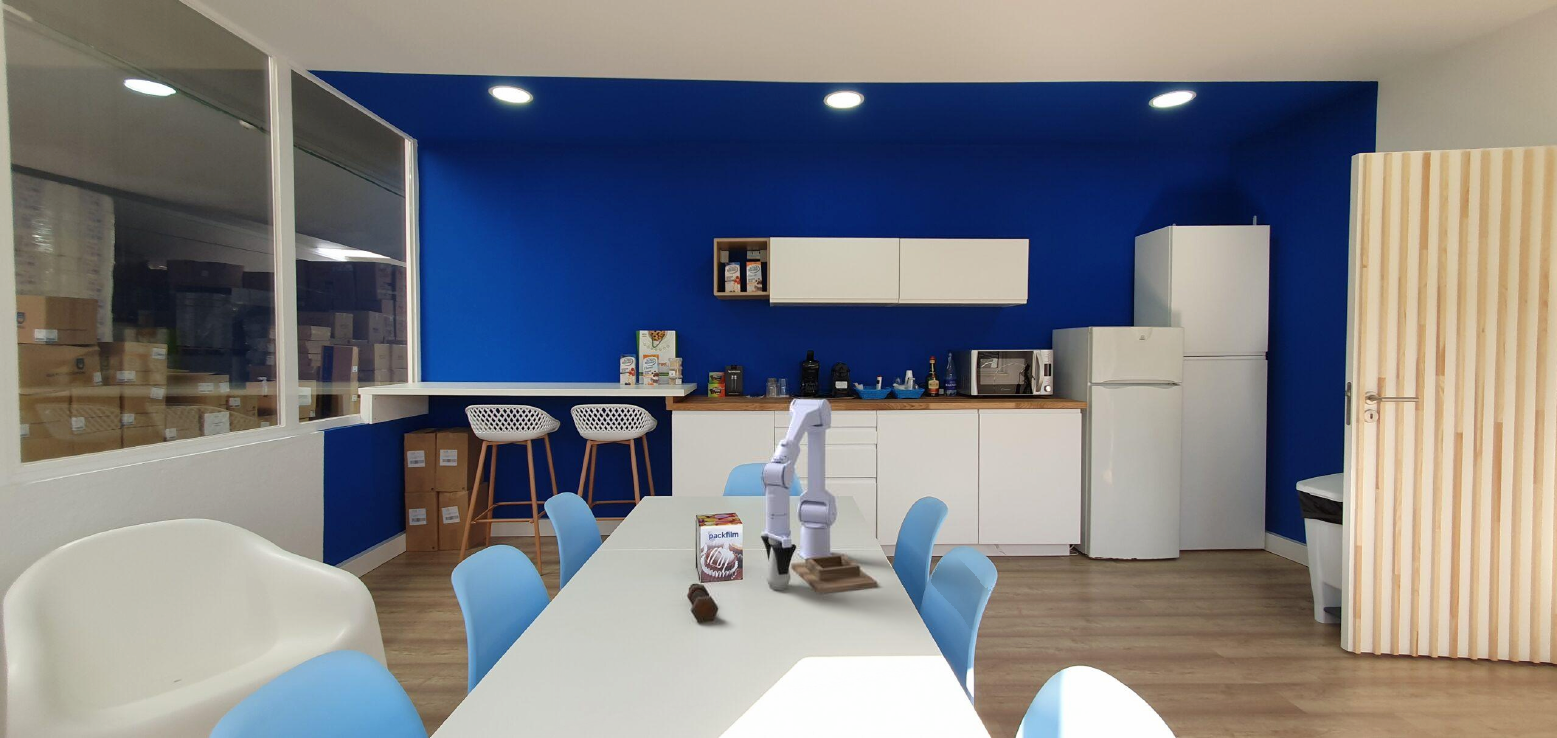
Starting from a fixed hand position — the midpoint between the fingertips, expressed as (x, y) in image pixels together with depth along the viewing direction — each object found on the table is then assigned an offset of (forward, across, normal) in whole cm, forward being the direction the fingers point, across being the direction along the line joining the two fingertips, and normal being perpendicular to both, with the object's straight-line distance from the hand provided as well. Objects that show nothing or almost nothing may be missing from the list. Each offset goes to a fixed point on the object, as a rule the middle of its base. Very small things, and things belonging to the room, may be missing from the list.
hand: (778, 569), depth 164 cm
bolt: (+5, +7, -20) cm, 22 cm away
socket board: (+4, -3, +15) cm, 16 cm away
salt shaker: (+5, 0, 0) cm, 5 cm away
